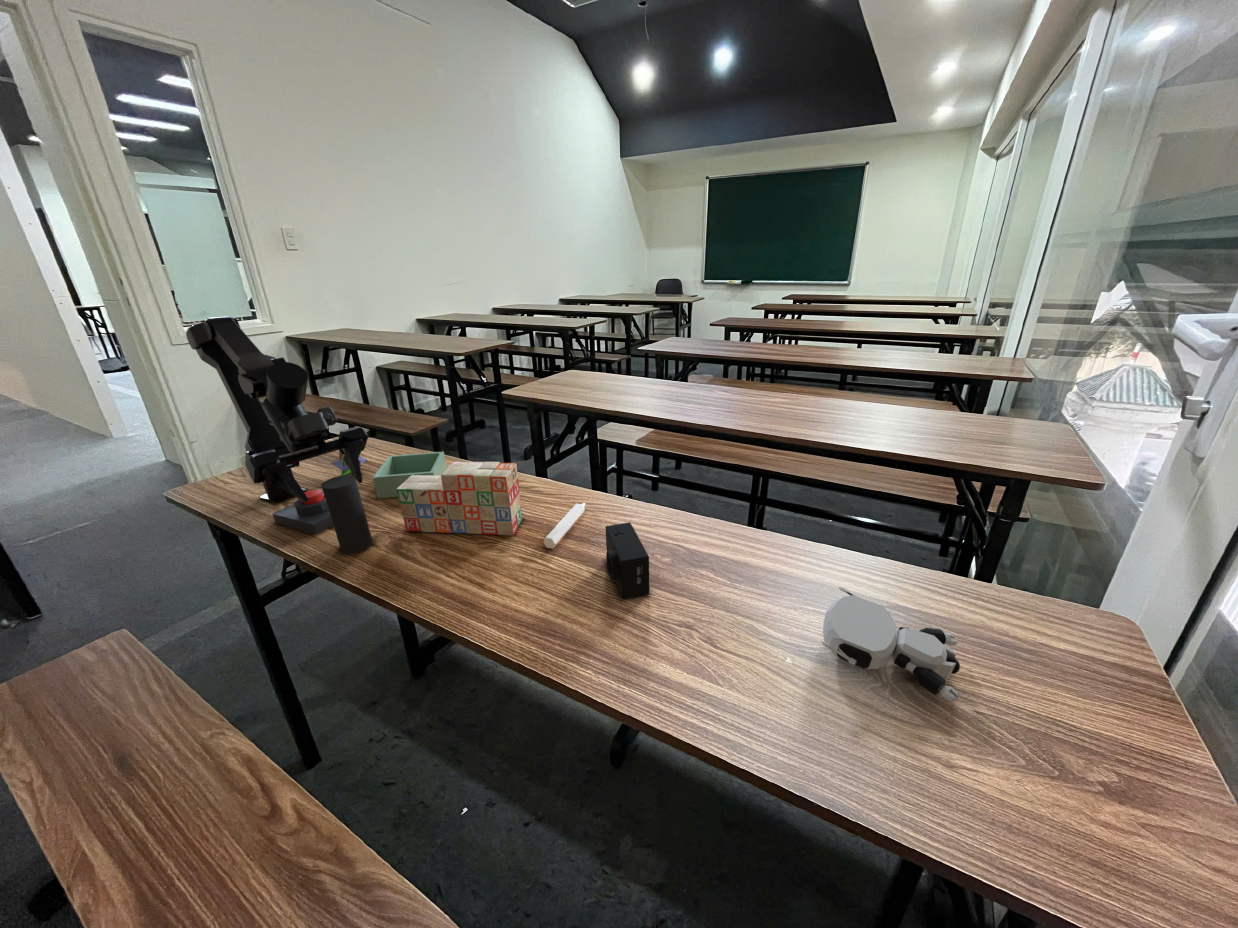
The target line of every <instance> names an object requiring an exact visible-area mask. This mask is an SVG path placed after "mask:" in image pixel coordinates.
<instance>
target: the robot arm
mask: <svg viewBox="0 0 1238 928" xmlns="http://www.w3.org/2000/svg"><path fill="white" fill-rule="evenodd" d="M185 336H186V340H187V342H188V344H189V346H190V348H191V349H192V350H195V352H196V353H197V355H198V357H199V359H200V360H201V361H203V362H204V363H205V364H207V365H209V366H211V368H214V369H215V370H216V372H217V374H218V376H219V378H220V380H221V382H222V385H223V386H224V388H225V390H226V392H227V395H228V396H229V398H230V400H231V402H232V404H233V406H234V408H235V411H236V412H237V415H238V416H239V418H240V420H241V422H242V424H243V427H244V428H245V430H246V433H247V435H246V439H245V443H244V448H245V454H244V455H245V457H244V458H245V459H244V462H245V464H244V465H245V468H246V470H247V472H248V475H249V477H250V479H251V480H252V482H253V483H254V484H261V483H262V485H263V488H264V491H265V493H264V494H262V495H260V496H259V499H260V500H263V501H267V502H272V503H275V504H279V503H282V502H285V501H287V500H289V499H291V498H294V497H296V498H298V499H300V500H302V501H304V502H305V503H306V502H308V498H307V496H306V494H305V492H307V490H306V488H304V487H301V485H300V484H299V482H298V481H297V480H296V478H295V476H294V473H293V470H292V469H293V468H297V467H300V466H301V465H300V462H302V461H306V460H310V459H312V458H317V457H319V456H324V455H326V454H329V453H330V454H331V453H333V452H336V451H337V452H338V451H339V450H340V452H341V454H344V458H343V459H344V461H345V463H346V464H347V466H348V468H349V469H350V471H351V473H350V474H352V476H353V477H355V478H356V482H357V483H358V484H363V475H362V470H361V467H360V464H359V456H361V454H362V452H364V450H366V449H365V448H366V445H367V442H368V440H369V436H370V435H369V434H368V433H367V431H366V429H365V428H363V427H361V426H359V425H357V426H354V427H350V428H347V429H343V430H340V431H339V435H338V438H337V439H334V440H333V439H332V440H329V441H327V442H326V440H325V439H328V432H327V431H329V430H330V427H331V426H335V425H336V424H337V423H338V417H337V416H336V414H335V412H334V411H333V408H332V407H331V406H330V405H328V406H324V407H320V408H318V409H317V411H316V412H314V413H308V411H307V409H306V408H305V407H304V405H303V403H304V402H305V401H306V397H307V389H308V383H309V374H308V372H307V370H306V369H305V368H303V367H302V366H300V365H298V364H297V363H294V362H290V361H286V359H285V357H284V356H283V357H275V356H271V355H269V354H268V355H267V354H264V353H263V352H262V351H261V350H260V349H259V348H258V346H257V345H256V344H255V343H254V342H253V341H252V339H250V337H249V336H248V335H247V334H246V333H245V332H244V330H243V329H242V328H241V325H240V323H239V321H238V319H237V318H236V317H235V316H231V315H227V316H217V317H207V318H206V319H203V320H202V322H199V323H197V324H195V325H190V326H189V327H188V328H187V329H186V332H185ZM262 398H264V399H263V402H262V403H261V400H260V399H262Z"/></svg>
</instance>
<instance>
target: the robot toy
mask: <svg viewBox="0 0 1238 928" xmlns="http://www.w3.org/2000/svg"><path fill="white" fill-rule="evenodd" d="M838 589H839V590H840V591H841V592H843V593H846V594H847V595H844V596H841V597H837V598H835V600H833V602H831V604H830V606H829V607H828V609H827V610H826V612H825V615H824V619H823V622H822V623H823V624H822V636H823V640H821V644H822V645H823V646H824V647H825V648H828V650H829V651H831V653H832V654H833V655H834V656H835V657H837V658H839V659H840V660H843V661H844V662H847V663H849V664H851V665H853V666H856V667H859V668H861V669H866V670H879V669H881V668H884V667H885V666H886V665H888V663H890V660H891V659H892V660H893V664H894V665H896V667H899V668H900V669H901V670H906V671H907V672H909V673H910V674H912V675H913V676H914V678H915V679H916V682H917V683H918V685H919V686H921V687H922V688H924V689H925V690H926V691H928V692H929V693H930V694H932V695H933V696H937V695H938V694H940V696H941V697H942V698H943V699H944V700H946V701H947V702H950V703H954V702H956V700H957V699H958V698H959V697H960V693H959V692H958V691H957V690H956V689H955V688H954V687H952V686H950V685H947V684H946V681H947V680H948V679H949V678H950V677H951V675H955V674H957V673H959V671H960V670H961V664H960V661H959V660H958V659H957V658H956V656H957V654H956V652H955V651H954V650H953V648H951V647H952V646H953V647H954V646H956V645H957V644H958V640H957V638H956V637H955V635H953V633H950V632H948V631H947V632H944V631H943V630H942V629H940V628H933V627H924V628H923V629H920V630H916V629H914V628H909V627H904V626H900V627H898V625H897V622H896V620H895V618H894V617H893V615H892V614H891V613H890V612H889V611H888V610H887V609H886V608H885V607H884V606H883V604H882V605H881V604H879V603H876V602H873V601H871V600H867V599H864V598H862V597H859V596H857V595H856V594H854V593H852V592H850V591H849V590H847V589H846V588H845V587H843V586H838ZM949 646H950V647H949Z"/></svg>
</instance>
